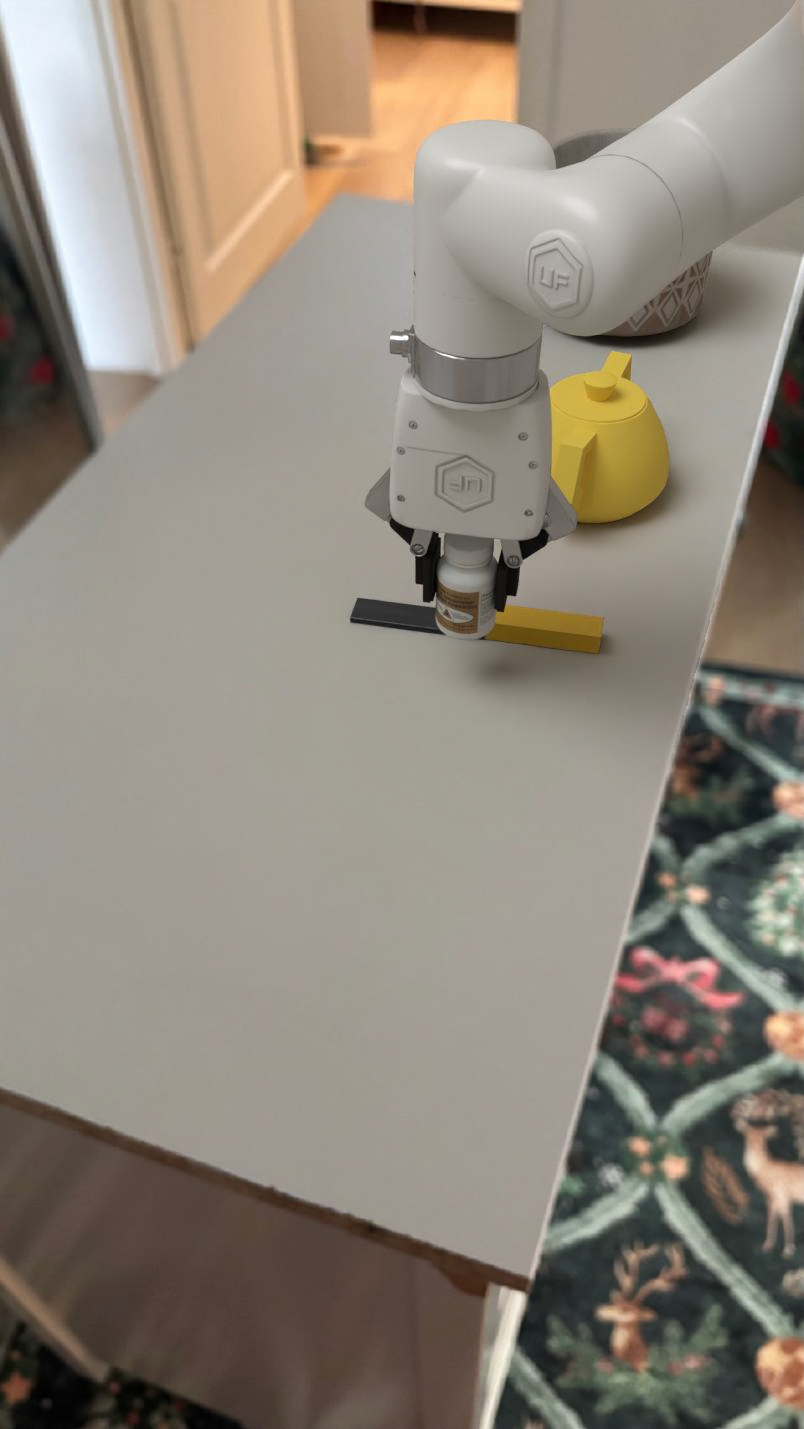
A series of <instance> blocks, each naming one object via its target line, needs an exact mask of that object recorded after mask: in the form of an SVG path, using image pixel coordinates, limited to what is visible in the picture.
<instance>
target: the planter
mask: <svg viewBox="0 0 804 1429" xmlns="http://www.w3.org/2000/svg"><path fill="white" fill-rule="evenodd" d="M636 129H637V128H631V127H630V128H629V127H628V128H626V127H625V128H623V127H622V128H603V129H595V130H589V131H582V132H579V133H575V134H571V135H568V136H566V137H563V138H560V139H558V140H557V141H555V142H554V143H552V144H550V146H551V147H552V149H553V152H554V155H555V161H556V169H559V168H563V167H566V166H569V165H573V164H576V163H579V162H583V161H585V160H587V159H588V158H590V157H591V156H593V155H595V154H596V153H598V152H599V151H601V150H602V149H604V148H606V147H607V146H609V145H610V144H612V143H614V142H615V141H617V140H619V139H621V138H623V137H624V136H626V135H628V134H629V133H631V132H632V131H634V130H636ZM713 252H714V250H713V251H711V252H710V253H708V254H707V255H706V256H704V257H703V258H702V259H700V260H699V261H698V262H696V263H695V264H694V265H692V266H691V267H690V268H689V269H687V270H686V271H685V272H684V273H682V274H681V275H680V276H679V277H677V278H676V279H675V280H674V281H672V282H671V283H670V284H669V285H667V286H666V287H665V288H664V289H663V290H662V291H661V292H660V293H659V294H658V295H657V296H656V297H654V298H653V299H652V300H651V301H650V302H648V303H647V304H646V305H645V306H643V307H642V308H641V309H640V310H639V311H637V312H636V313H635V314H634V315H633V316H631V317H630V318H629V319H628V320H627V321H625V322H624V323H622V324H621V325H619V326H618V327H616V328H614V329H612V330H610V331H607V332H605V333H602V334H600V335H602V336H609V337H641V336H651V335H657V334H661V333H666V332H670V331H672V330H675V329H678V328H680V327H682V326H684V325H686V324H687V323H689V322H691V321H692V320H693V319H694V318H696V316H697V315H698V314H699V312H700V311H701V309H702V306H703V305H704V304H703V303H704V299H705V295H706V294H705V293H706V290H707V285H708V284H707V283H708V278H709V272H710V268H711V263H712V257H713Z"/></svg>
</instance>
